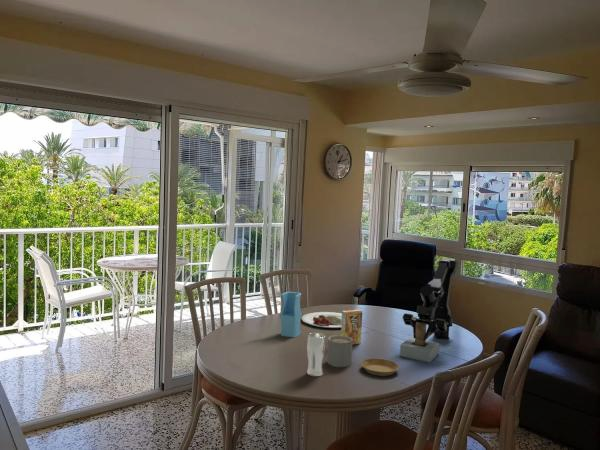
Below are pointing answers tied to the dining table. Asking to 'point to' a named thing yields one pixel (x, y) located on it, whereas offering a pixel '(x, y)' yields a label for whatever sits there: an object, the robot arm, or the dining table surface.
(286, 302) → the vase
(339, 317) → the plated food
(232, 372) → the dining table surface
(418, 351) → the socket block
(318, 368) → the beer glass
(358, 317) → the candy box
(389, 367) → the plant saucer
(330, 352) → the coffee mug
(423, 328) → the walnut peg
